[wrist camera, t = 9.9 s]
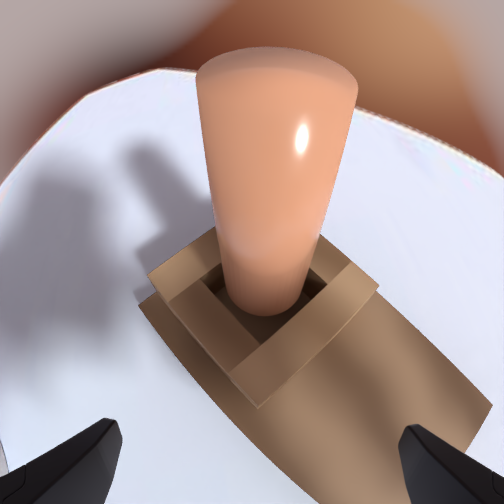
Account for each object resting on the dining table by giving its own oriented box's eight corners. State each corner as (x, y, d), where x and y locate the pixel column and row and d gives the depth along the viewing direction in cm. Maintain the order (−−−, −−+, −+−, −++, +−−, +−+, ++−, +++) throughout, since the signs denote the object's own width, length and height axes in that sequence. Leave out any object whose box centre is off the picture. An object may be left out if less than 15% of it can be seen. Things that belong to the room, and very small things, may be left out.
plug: (261, 332, 15) (279, 139, 5) (209, 276, 16) (165, 75, 7) (318, 281, 16) (386, 86, 7) (265, 234, 18) (276, 38, 8)
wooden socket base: (373, 542, 11) (402, 564, 8) (145, 313, 20) (121, 284, 16) (480, 408, 16) (520, 397, 12) (274, 217, 24) (278, 175, 20)
